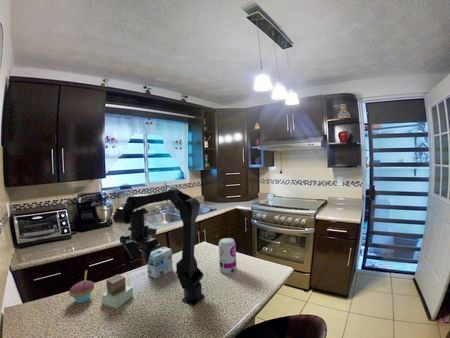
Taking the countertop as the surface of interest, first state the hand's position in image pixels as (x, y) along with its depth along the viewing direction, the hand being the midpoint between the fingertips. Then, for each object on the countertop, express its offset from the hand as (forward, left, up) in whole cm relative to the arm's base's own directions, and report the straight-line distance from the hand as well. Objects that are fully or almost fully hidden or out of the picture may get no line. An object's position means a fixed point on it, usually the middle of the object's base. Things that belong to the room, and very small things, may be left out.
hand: (139, 260), depth 92 cm
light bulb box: (+4, -14, -13) cm, 20 cm away
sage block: (+3, +9, -13) cm, 16 cm away
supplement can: (-25, -31, -13) cm, 42 cm away
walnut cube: (+3, +9, -9) cm, 13 cm away
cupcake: (+16, +16, -13) cm, 26 cm away
